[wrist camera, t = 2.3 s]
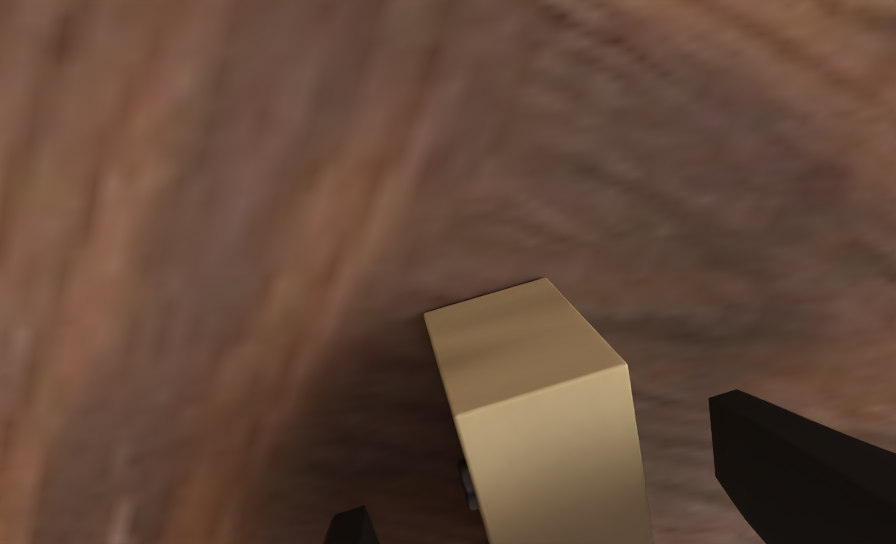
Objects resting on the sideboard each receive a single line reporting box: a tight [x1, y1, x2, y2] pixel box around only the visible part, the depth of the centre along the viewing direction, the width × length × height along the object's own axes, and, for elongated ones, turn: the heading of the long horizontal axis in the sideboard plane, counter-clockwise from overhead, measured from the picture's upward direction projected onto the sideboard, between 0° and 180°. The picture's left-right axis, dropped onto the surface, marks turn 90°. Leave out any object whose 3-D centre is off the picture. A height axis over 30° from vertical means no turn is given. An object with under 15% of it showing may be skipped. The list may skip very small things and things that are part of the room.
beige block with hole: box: [424, 278, 654, 544], centre depth 12 cm, size 7×3×4 cm, turn 14°
